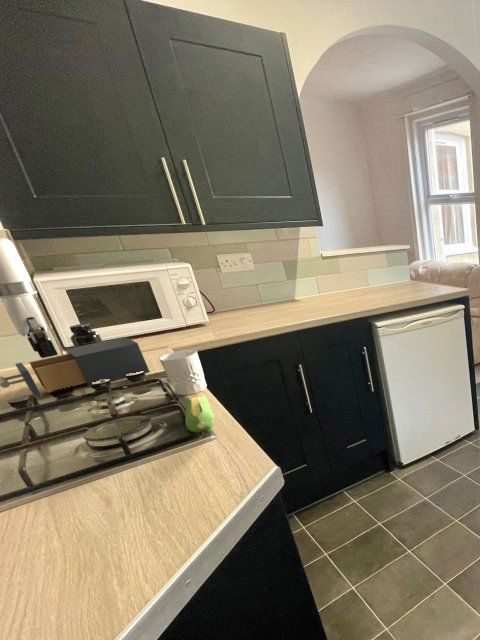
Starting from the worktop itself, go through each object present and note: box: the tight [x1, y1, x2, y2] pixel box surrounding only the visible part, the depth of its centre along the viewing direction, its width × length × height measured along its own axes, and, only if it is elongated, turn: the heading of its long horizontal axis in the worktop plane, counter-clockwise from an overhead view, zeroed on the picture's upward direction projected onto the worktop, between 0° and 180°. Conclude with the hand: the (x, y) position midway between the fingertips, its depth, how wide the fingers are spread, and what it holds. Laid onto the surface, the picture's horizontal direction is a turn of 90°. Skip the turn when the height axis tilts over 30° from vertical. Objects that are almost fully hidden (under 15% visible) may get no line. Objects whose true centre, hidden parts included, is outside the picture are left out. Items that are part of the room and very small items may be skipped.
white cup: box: [159, 349, 208, 396], centre depth 110 cm, size 8×8×10 cm
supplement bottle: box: [69, 322, 103, 348], centre depth 136 cm, size 7×7×12 cm
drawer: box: [0, 353, 87, 399], centre depth 114 cm, size 17×11×7 cm
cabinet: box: [65, 336, 150, 388], centre depth 123 cm, size 14×13×9 cm
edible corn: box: [184, 395, 215, 433], centre depth 95 cm, size 5×20×5 cm, turn 38°
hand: (46, 353), depth 113 cm, fingers open, 9 cm apart
